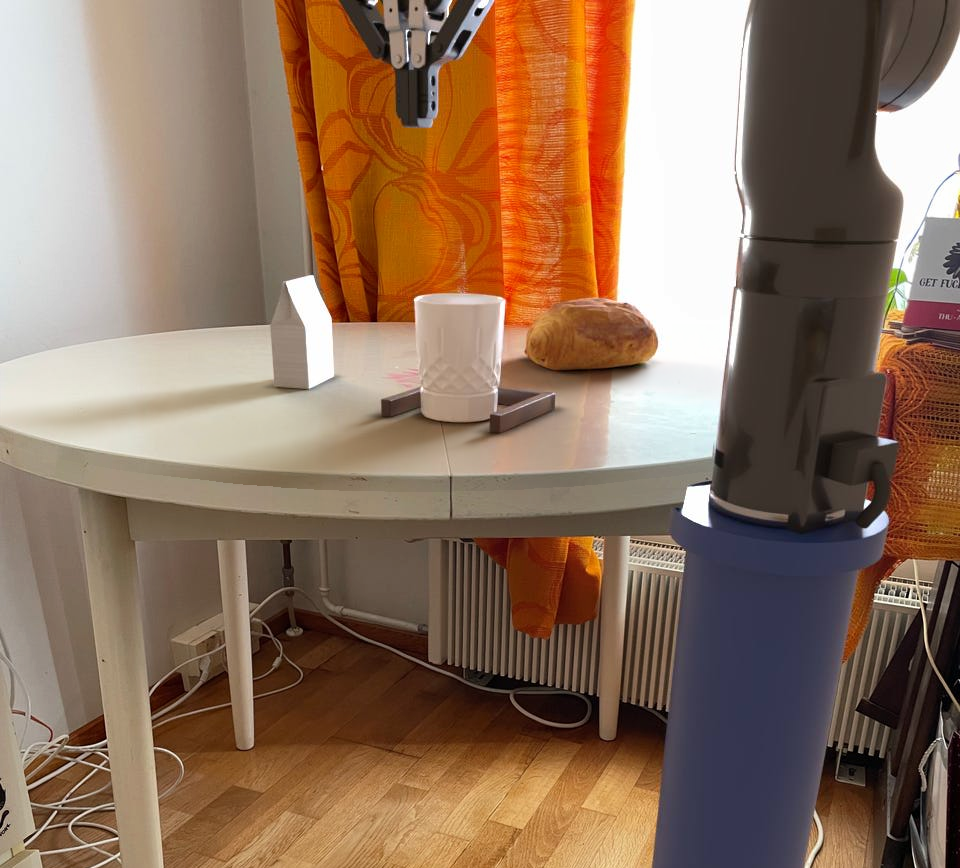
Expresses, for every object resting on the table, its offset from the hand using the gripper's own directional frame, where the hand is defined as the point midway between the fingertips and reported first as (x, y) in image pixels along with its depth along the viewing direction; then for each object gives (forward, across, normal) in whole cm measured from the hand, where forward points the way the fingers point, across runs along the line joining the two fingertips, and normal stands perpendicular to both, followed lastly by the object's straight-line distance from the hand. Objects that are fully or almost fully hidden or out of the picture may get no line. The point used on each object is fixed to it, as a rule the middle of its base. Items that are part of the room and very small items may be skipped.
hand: (417, 127), depth 77 cm
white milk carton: (+23, -21, +12) cm, 34 cm away
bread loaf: (+23, -2, +39) cm, 45 cm away
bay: (+23, 0, +8) cm, 24 cm away
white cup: (+23, 0, +7) cm, 24 cm away
